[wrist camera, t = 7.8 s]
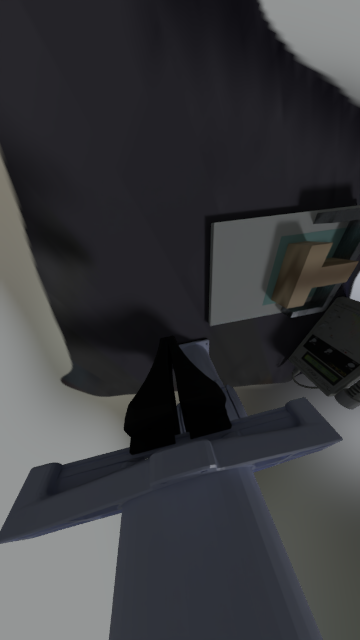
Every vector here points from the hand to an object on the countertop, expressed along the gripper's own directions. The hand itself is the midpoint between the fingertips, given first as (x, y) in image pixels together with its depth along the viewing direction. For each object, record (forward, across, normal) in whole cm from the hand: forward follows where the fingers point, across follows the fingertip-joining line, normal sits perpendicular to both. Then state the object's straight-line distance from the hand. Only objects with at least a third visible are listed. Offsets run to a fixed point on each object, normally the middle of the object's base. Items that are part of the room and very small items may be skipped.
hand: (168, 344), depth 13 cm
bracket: (+9, -26, -2) cm, 28 cm away
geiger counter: (+10, -36, +18) cm, 42 cm away
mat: (+10, -19, -2) cm, 22 cm away
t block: (+9, -24, -1) cm, 26 cm away
